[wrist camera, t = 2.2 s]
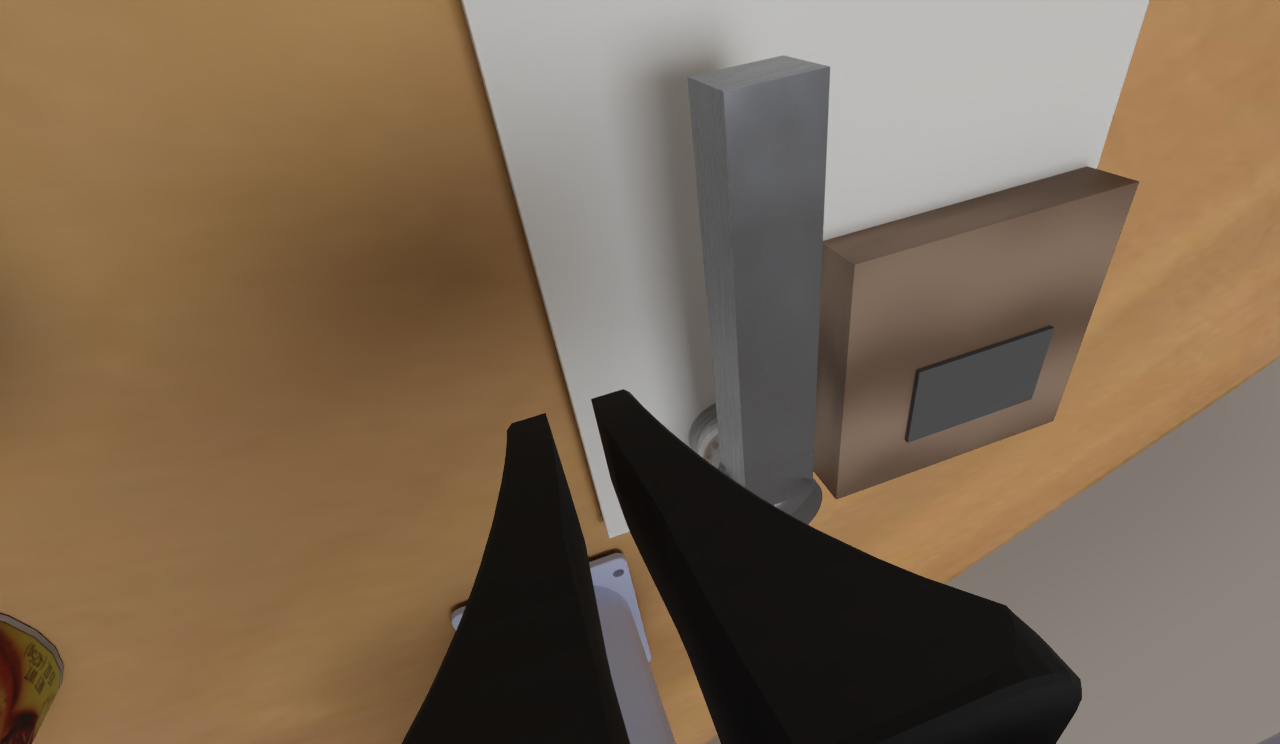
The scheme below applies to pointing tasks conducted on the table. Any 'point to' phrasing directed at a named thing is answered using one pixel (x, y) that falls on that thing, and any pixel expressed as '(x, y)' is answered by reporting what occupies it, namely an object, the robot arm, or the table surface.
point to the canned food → (25, 680)
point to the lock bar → (764, 266)
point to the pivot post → (706, 436)
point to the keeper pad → (976, 383)
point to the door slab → (954, 315)
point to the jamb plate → (855, 162)
